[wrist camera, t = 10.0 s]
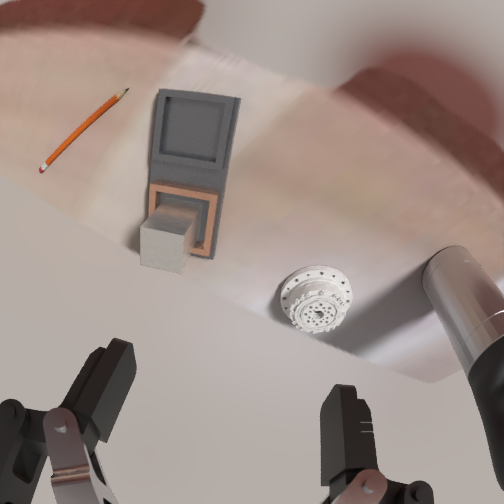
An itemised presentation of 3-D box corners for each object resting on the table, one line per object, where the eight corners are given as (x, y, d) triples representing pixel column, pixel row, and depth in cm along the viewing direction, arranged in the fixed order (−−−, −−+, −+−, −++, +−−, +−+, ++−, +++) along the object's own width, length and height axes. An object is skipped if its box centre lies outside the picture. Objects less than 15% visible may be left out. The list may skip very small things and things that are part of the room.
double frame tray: (241, 97, 29) (239, 98, 28) (214, 255, 40) (211, 263, 38) (162, 88, 29) (155, 88, 27) (150, 241, 39) (144, 249, 38)
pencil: (41, 167, 35) (37, 168, 34) (129, 84, 29) (126, 84, 28) (44, 171, 35) (40, 173, 35) (132, 90, 30) (129, 90, 29)
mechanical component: (265, 291, 42) (309, 329, 45) (263, 312, 38) (310, 350, 42) (322, 250, 38) (363, 295, 41) (327, 269, 34) (369, 316, 38)
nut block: (202, 204, 35) (183, 235, 28) (198, 237, 37) (180, 274, 30) (166, 197, 35) (140, 226, 28) (164, 230, 37) (140, 264, 30)
